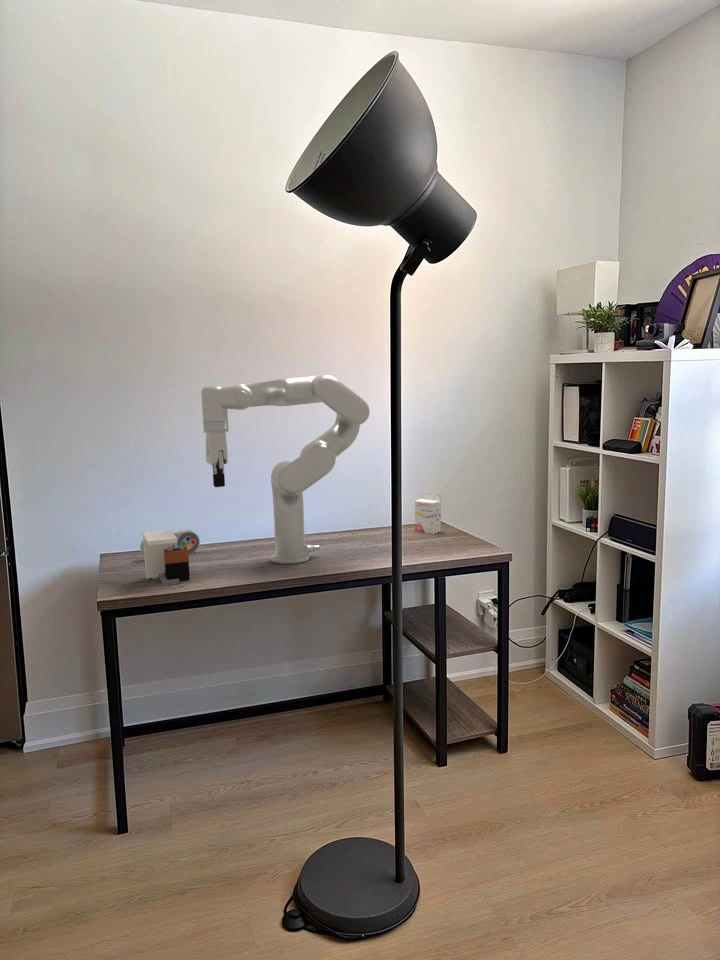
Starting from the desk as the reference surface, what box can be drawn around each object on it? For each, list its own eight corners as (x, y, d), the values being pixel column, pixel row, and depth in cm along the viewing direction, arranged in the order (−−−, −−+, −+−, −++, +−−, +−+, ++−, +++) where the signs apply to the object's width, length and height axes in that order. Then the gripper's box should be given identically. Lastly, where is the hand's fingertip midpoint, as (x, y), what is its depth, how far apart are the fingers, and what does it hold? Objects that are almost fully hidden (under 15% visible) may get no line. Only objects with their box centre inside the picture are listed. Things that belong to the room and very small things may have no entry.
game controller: (142, 562, 238) (141, 536, 237) (141, 560, 240) (139, 535, 239) (201, 553, 248) (199, 528, 247) (198, 551, 250) (197, 527, 248)
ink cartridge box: (414, 531, 270) (413, 492, 268) (421, 529, 274) (421, 490, 272) (434, 534, 265) (433, 494, 263) (441, 531, 269) (441, 492, 267)
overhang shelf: (173, 574, 221) (170, 530, 219) (180, 584, 210) (177, 538, 208) (146, 578, 218) (142, 533, 216) (151, 588, 207) (148, 541, 205)
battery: (190, 580, 215) (187, 547, 213) (166, 582, 213) (163, 549, 211) (189, 576, 219) (187, 543, 217) (165, 578, 217) (163, 545, 216)
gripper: (198, 426, 229) (202, 484, 232) (208, 429, 216) (212, 491, 218) (222, 425, 232) (225, 482, 235) (233, 428, 218) (237, 488, 221)
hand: (219, 486), depth 227 cm, fingers closed
